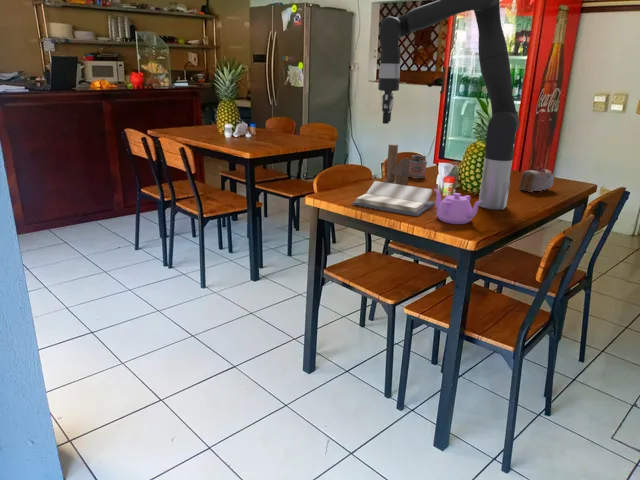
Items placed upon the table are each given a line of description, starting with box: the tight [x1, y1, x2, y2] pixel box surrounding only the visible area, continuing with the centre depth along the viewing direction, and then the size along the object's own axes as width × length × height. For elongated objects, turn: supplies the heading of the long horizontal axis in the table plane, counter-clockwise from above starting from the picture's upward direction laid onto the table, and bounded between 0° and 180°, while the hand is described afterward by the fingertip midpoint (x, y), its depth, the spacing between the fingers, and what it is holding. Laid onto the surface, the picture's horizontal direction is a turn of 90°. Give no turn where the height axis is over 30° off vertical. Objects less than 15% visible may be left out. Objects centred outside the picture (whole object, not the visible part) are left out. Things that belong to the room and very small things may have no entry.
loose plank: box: [365, 180, 433, 206], centre depth 179 cm, size 22×8×2 cm, turn 61°
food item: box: [518, 166, 555, 193], centre depth 205 cm, size 14×8×10 cm, turn 124°
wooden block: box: [383, 143, 411, 186], centre depth 193 cm, size 4×11×18 cm, turn 29°
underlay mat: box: [352, 200, 436, 217], centre depth 177 cm, size 24×18×1 cm
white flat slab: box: [355, 193, 424, 212], centre depth 173 cm, size 22×8×2 cm, turn 61°
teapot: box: [433, 188, 483, 225], centre depth 161 cm, size 12×14×9 cm
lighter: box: [408, 154, 428, 179], centre depth 221 cm, size 8×3×10 cm, turn 81°
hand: (386, 122), depth 187 cm, fingers open, 8 cm apart
